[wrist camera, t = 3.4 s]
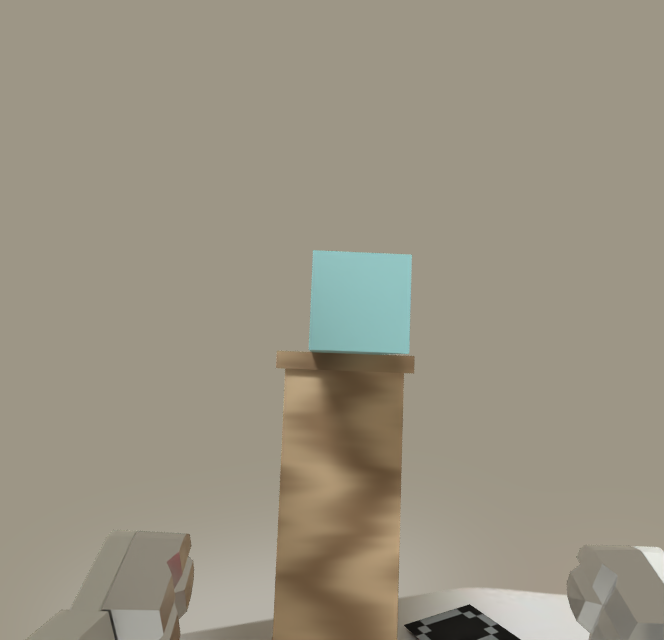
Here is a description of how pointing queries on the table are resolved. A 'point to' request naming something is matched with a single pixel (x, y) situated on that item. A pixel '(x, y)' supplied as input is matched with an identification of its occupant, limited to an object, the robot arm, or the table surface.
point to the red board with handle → (459, 626)
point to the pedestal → (339, 496)
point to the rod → (360, 303)
